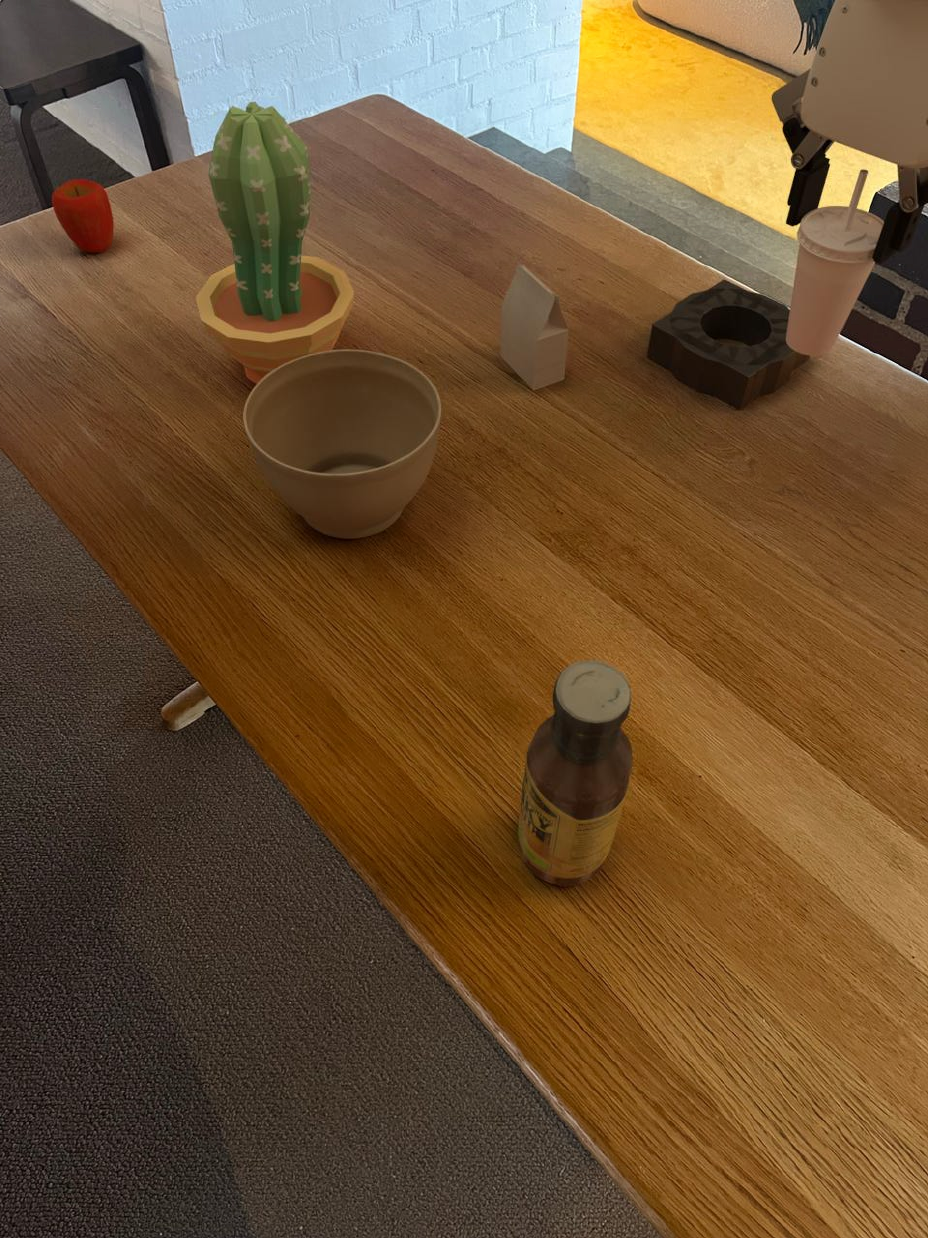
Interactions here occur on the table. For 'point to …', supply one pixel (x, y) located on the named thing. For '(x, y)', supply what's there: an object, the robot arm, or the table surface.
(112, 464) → the table surface
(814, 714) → the table surface
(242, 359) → the potted cactus
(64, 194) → the apple
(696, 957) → the table surface
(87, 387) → the table surface
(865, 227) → the smoothie
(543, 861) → the sauce bottle
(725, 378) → the holder plate
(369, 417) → the planter bowl
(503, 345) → the gable top carton
